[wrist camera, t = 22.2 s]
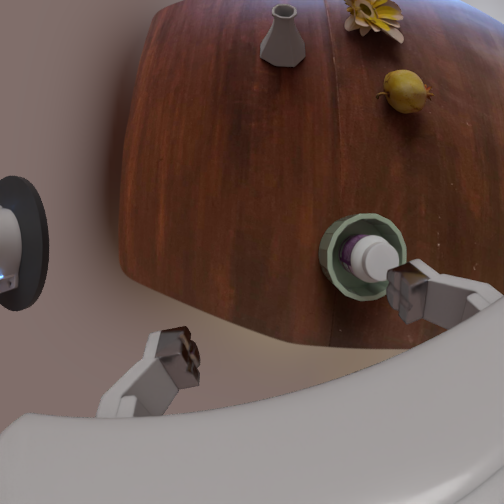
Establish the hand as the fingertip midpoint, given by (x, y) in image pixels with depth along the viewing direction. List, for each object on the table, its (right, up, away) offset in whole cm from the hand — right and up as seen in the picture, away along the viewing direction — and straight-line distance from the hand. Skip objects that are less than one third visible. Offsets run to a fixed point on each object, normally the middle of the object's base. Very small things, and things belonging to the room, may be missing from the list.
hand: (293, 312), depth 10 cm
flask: (+3, +33, +24) cm, 41 cm away
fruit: (+21, +26, +24) cm, 41 cm away
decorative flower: (+19, +43, +22) cm, 51 cm away
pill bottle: (+12, +2, +25) cm, 28 cm away
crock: (+12, +2, +26) cm, 29 cm away
